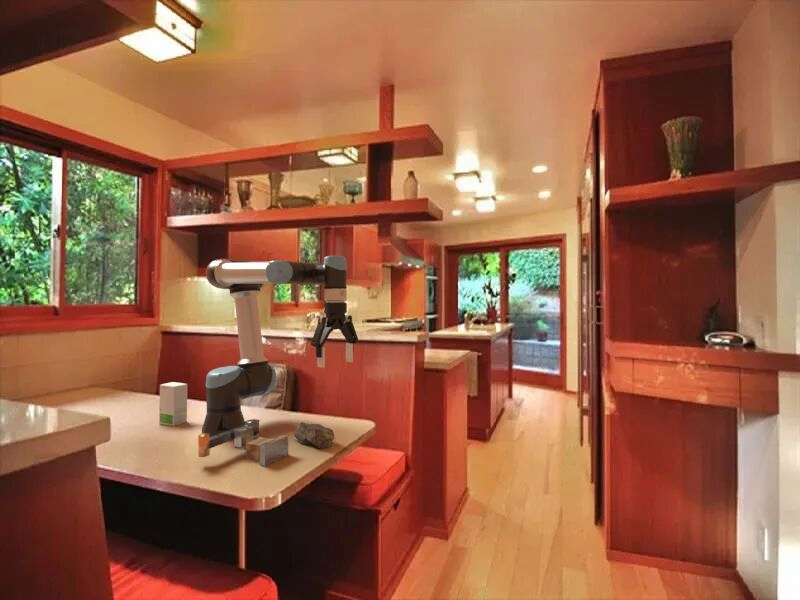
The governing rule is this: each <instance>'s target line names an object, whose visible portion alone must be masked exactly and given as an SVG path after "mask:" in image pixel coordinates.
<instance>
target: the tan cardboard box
mask: <svg viewBox="0 0 800 600" xmlns="http://www.w3.org/2000/svg"><path fill="white" fill-rule="evenodd" d="M259 437H260V438H257V439H255V440H252V441H250V442H248V443H246V449H245V455H246V457H245V458H246V459H245V460H250V461H255V462H258V463H260V445H261V444H263V443H265V442H268V441H270V440H272V439H273V438H272V439H271V438H269V439H268V437H264V438H262V437H263V436H259Z"/></svg>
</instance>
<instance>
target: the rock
mask: <svg viewBox="0 0 800 600" xmlns="http://www.w3.org/2000/svg"><path fill="white" fill-rule="evenodd" d="M298 425H299V426H297V428H296V429H295V431H294V438H295V440H297V441H298V443H300V444H302V445H306V446H307V445H309V444H311V445H314V446H315V447H316V448H319V449H326V448H330V447H331V446H332V443H333V442H334V439H335V438H336V436H335V433H334V431H333V429H331V428H330V427H325V426H323V425H322V424H320V423H307V422H303V421H301V422H300V423H299V424H298ZM309 446H310V445H309Z"/></svg>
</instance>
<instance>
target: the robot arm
mask: <svg viewBox="0 0 800 600" xmlns="http://www.w3.org/2000/svg"><path fill="white" fill-rule="evenodd" d="M347 265H348V264H347V258H346V257H345V256H343V255H327V256H326V255H325V256H324V260H323V262H308V261H307V262H305V261H294V260H293V261H292V260H284V259H275V260H271V261H266V260H265V261H253V260H248V259H234V258H233V259H231V258H230V259H229V258H218V259H215V260H212V261H211V262H210V263H209V264H208V265H207V267H206V270H205V277H206V280H207V281H208V283H209V284H210V285H211V286H213V287H215V288H218V289H221V290H229V296H230V297H232V298H233V299H234V305H235V306H234V307H235V316H236V327H237V335H238V336H237V337H238V345H239V355H240V359H239V361H238V362H237V365H227V366H220V367H217V368H214V369H212V370H210V371H209V372H208V373H206V377H205V378H206V379H205V380H206V381H205V390H206V393H205V394H206V396H205V397H206V414H205V418H204V420H203V425H202V427H201V434H204V433H208V434H209V437H212V436H215V435H218V434H221V433H223V432H226V431H229V430H232V429H235V428H237V427H240V426H243V425H245V421H246V420H245V417H244V415H243V412H242V407H241V403H242V400H245V399H251V398H254V397H259V396H263V395H265V394H268V393H270V392H271V391H272V390H273V388H274V387H275V385H276V382H277V372H276V369H275V368H274V366H273V365H271V364H270V363H269V359H268V358H267V357H265V355H264V348H263V338H262V330H261V321H260V312H259V302H258V296H259V295H260V293H261V292H262V291H261V289H262V288H263V287H264V285H266V284H268V285H269V284H272V285H274V284H275V285H307V286H312V285H313V286H314V285H323V286H324V290H323V291H324V292H323V298H324V299H323V300H324V301H325V302H324V310H323V311H324V312H323V313H325V316H318V318H317V325H316V328H315V331H314V333H313V336H312V340H311V341H310V346H312V347H313V348H315V357H316V359H317V360H316V364H317V368H322V369H324V368H326V357H325V355H326V352H325V351H326V348H325V347H324V345H325V343H326V341H327V340H328V338H329V336H330V334H331V333H332V332H333V331H335V330H339V331H340V332H341V334H342V335H343V337H344V339H345V341H346V343H345V362H346V363H354V350H355V347H354V346H355V344H356V343H357V342H358V341H359V338H358V337H359V336H358V335H357V331H356V329H355V326H354V323H353V316H352V315H351V314H347V313H348V310H347V308H348V303H347V302H346V301H347V299H348V297H347V294H348V292H347V289H348V288H347V283H348V282H347V280H348V279H347V278H348V277H347V276H348V275H347V274H348V266H347ZM346 314H347V315H346Z"/></svg>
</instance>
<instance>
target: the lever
mask: <svg viewBox="0 0 800 600" xmlns="http://www.w3.org/2000/svg"><path fill="white" fill-rule="evenodd" d="M244 421H245V425H243V426H240V427H237V428H235V429H232V430H229V431H226V432H223V433H221V434H218V435H215V436H212V437H209V434H208V433H204V434H202V433H201V434H198V435H197V443H198V444H197V445H198V448H197V449H198V452H197V453H198V454H197V455H198V458H206V457H208V456H210V455H211V453H210V451H211V449H212V448H216V447H218V446H220V445H223V444H226V443H228V442H231V441H233V440H234V445H233V446H234V447H235V446H237V447H244V446H246V443H248V442H250V441H252V440H254V438H253V435H256V434H258V435H259V434H260V420H259V419H256V418H255V419H254V418H253V419H248V420H244Z"/></svg>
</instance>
